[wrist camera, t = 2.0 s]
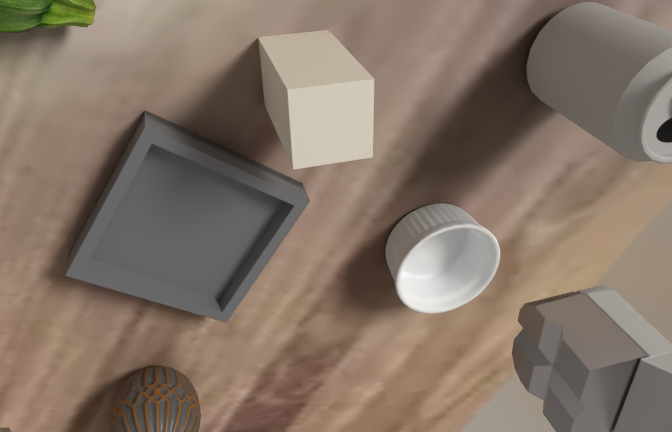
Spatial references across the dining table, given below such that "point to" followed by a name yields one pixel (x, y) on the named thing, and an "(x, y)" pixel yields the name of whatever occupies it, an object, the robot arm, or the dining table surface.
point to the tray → (185, 222)
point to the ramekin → (440, 258)
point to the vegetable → (44, 14)
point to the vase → (156, 403)
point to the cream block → (317, 98)
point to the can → (608, 78)
